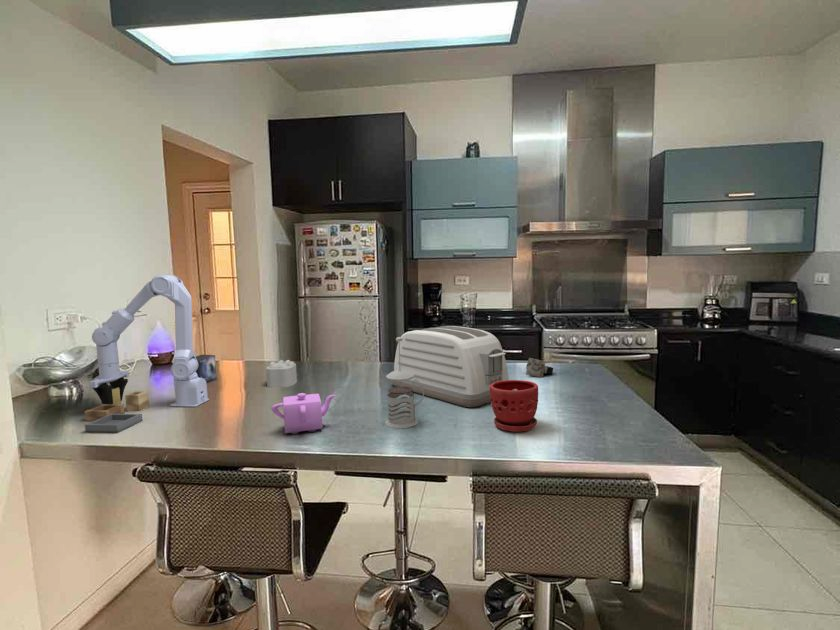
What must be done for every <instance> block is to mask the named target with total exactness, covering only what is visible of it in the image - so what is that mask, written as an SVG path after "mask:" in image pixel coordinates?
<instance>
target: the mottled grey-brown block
mask: <svg viewBox="0 0 840 630" xmlns="http://www.w3.org/2000/svg"><path fill="white" fill-rule="evenodd" d="M525 368H526V372H525V375H526V376H532V377H536V378H543V377H544V374H550V375H553V372H554V367H551V366H548V365H546V360H541V359H538V358H537V359H536V358H532V357H529V358H528V360H527V363H526V367H525Z"/></svg>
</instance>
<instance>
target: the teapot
mask: <svg viewBox="0 0 840 630" xmlns="http://www.w3.org/2000/svg"><path fill="white" fill-rule="evenodd" d="M336 396H337V394H329V395H328V396H327V397H326V399H325V402H324V405H323V406H322V400H321V397H320V394H319V393H311V394H310V393H309V394H306V393H305V392H301V393H297V394H296V395H290V396H283V397H282V400H283V401H282V402H280V403H276V404H275V403H274V405H272V406H271V408H270V409H271V411H272V412H273V414H274V415H276V416H277V417H279V418H281V419H282V420H283V423H284V424H283V425H284V426H283V427H284V434H289V433H290V434H292V435H296V434H299V433H300V432H306V431H307V432H310V433H311V432H312V433H313V432H316V431H317V430H323V417H325V416H326V414H327V413H328V410H329V408H330V407H329V406H330V403H331V402H332V399H333V398H334V397H336ZM279 407H282V408H283V413H281V412H280V411H279Z"/></svg>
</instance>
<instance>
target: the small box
mask: <svg viewBox="0 0 840 630" xmlns="http://www.w3.org/2000/svg"><path fill="white" fill-rule="evenodd" d="M195 357H196V359H197V361H198V369H197V370H196V373H197V375H198V377H199V378H203V379H205V381H206V384H209V383H211V382H213V381H216V380H217V379H218V378H217V365H216V364H217V363H216V355H215V354H199V355H197V356H196V355H195Z"/></svg>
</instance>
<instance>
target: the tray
mask: <svg viewBox="0 0 840 630" xmlns="http://www.w3.org/2000/svg"><path fill="white" fill-rule="evenodd" d="M143 419H144V418H143V414H142V413H124V414H110V415H107V416H105V417H103V418H100V419H98V420H95V421H90V422H89V423H85V424H84V431H85V433H99V434H100V433H101V434H103V433H104V434H119V433H120V432H123V431H125V430H128V429H129V428H131V427H134V426H136V425H137V423H138V424H139V422H140V423H141V421H142V422H143V421H144V420H143ZM135 424H136V425H135Z"/></svg>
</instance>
